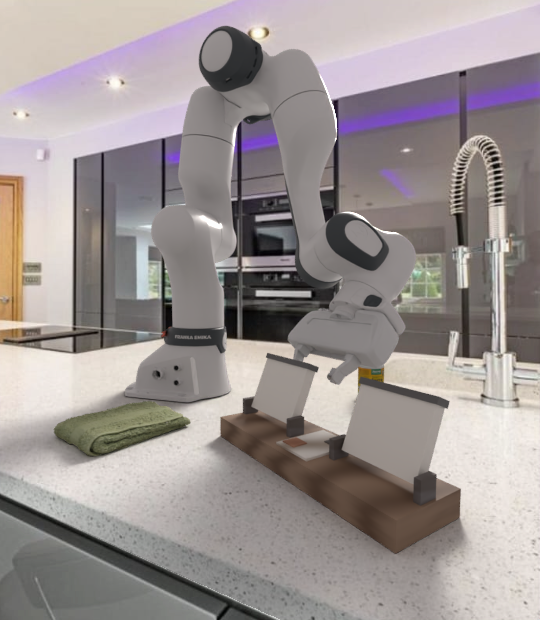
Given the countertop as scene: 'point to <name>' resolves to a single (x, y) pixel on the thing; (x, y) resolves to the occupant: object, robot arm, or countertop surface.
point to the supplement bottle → (370, 373)
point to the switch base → (344, 478)
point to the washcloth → (119, 427)
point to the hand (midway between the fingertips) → (311, 375)
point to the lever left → (284, 387)
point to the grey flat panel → (394, 428)
